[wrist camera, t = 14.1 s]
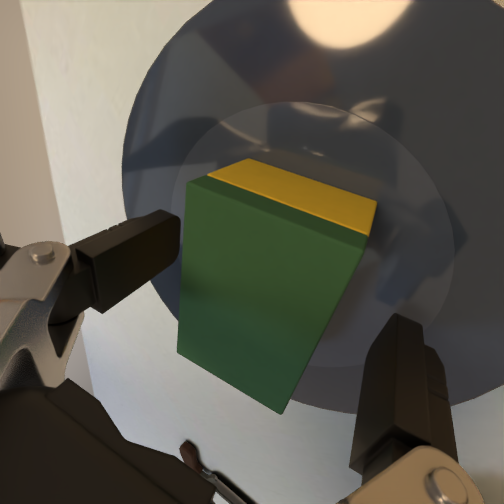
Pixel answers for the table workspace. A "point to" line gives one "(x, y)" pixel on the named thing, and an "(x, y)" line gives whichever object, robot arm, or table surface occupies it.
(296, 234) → the sponge
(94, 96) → the table surface
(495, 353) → the plate
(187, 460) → the knife
